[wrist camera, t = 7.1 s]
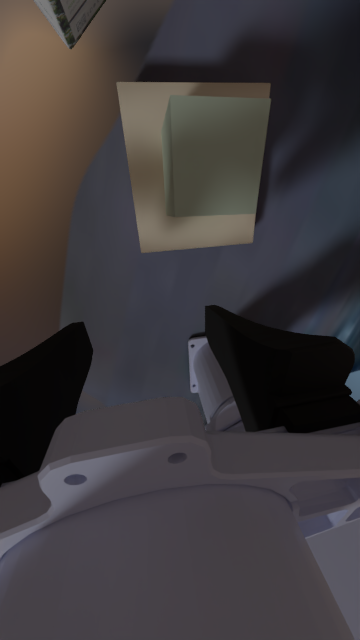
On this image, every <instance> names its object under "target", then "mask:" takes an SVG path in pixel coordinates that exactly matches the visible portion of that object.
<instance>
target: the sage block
mask: <svg viewBox="0 0 360 640" xmlns="http://www.w3.org/2000/svg"><path fill="white" fill-rule="evenodd" d="M270 104H271V99H266V98H239V97H212V96H184V95H170V98H169V102H168V106H167V110H166V114H165V118H164V122H163V126H162V130H161V138H162V155H163V172H164V189H165V207H166V215H168V216H172V217H190V216H214V215H238V214H256V208H257V200H258V193H259V185H260V178H261V170H262V163H263V156H264V148H265V141H266V133H267V126H268V119H269V111H270Z"/></svg>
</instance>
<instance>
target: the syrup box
mask: <svg viewBox="0 0 360 640" xmlns="http://www.w3.org/2000/svg"><path fill="white" fill-rule="evenodd" d="M105 1H106V0H34V2H35V3H36V5H37V6H38V7H39V9H40V10H41V11H42V13H43V14H44V15H45V17H46V18H47V20H48V21H49V22H50V24H51V25H52V26H53V28H54V29H55V31H56V32H57V34H58V35H59V36H60V37H61V39H62V40H63V42H64V43H65V44H66V45H67V47H68V48H69V49H72V48H73V47H74V45H75V44H76V43H77V41H78V40H79V39H80V37H81V36H82V34H83V33H84V31H85V30H86V28H87V27H88V25H89V24H90V23H91V21H92V20H93V18H94V17H95V15H96V14H97V13H98V11H99V10H100V8H101V7H102V5H103V4H104V3H105Z"/></svg>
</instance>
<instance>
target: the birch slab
mask: <svg viewBox="0 0 360 640" xmlns="http://www.w3.org/2000/svg"><path fill="white" fill-rule="evenodd" d="M270 86H271V83H194V82H117V90H118V96H119V103H120V110H121V117H122V124H123V130H124V137H125V144H126V151H127V158H128V165H129V171H130V178H131V185H132V192H133V199H134V205H135V212H136V219H137V226H138V233H139V239H140V246H141V253H147V252H158V251H169V250H180V249H190V248H201V247H212V246H223V245H234V244H245V243H253V234H254V225H255V216H256V214H238V215H214V216H190V217H172V216H168V215H166V207H165V189H164V172H163V155H162V138H161V130H162V126H163V122H164V118H165V114H166V110H167V106H168V102H169V98H170V95H184V96H212V97H239V98H266V99H269V95H270Z"/></svg>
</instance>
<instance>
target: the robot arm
mask: <svg viewBox="0 0 360 640" xmlns="http://www.w3.org/2000/svg"><path fill="white" fill-rule="evenodd" d="M205 335H206V336H202V337H195V338H190V339H189V340H188V350H189V370H190V389H191V392H192V393H196V392H198V393H199V396H200V400H201V403H202V406H203V410H204V413H205V416H206V419H207V423H208V424H207V425H206V426H205V427H206V430H205V427H204V423H203V420H202V416H201V413H200V411H199V409H198V407H197V404H196V403H193V402H191V401H189V400H187V399H185V398H183V397H162V398H156V399H151V400H145V401H139V402H133V403H128V404H122V405H116V406H111V407H105V408H99V409H93V410H88V411H84V412H81V413H78V414H76V409H77V404H78V401H79V398H80V395H81V392H82V389H83V386H84V383H85V380H86V378H87V375H88V372H89V369H90V365H91V361H92V355H93V348H92V345H91V342H90V339H89V336H88V334H87V331H86V328H85V325H84V322H77V323H71V324H69V325H68V326H66V327H65V328H63V329H61V330H60V331H59V332H57V333H56V334H54V335H53V336H51V337H50V338H48V339H47V340H45V341H44V342H42V343H41V344H39V345H38V346H36V347H34V348H33V349H31V350H30V351H28V352H26V353H25V354H23V355H21V356H20V357H17V358H16V359H14V360H12V361H10V362H8V363H6V364H4V365H2V366H0V640H360V400H358V401H357V402H356V401H355V400H354V399H353V398H351V397H350V396H349V395H351V393H352V391H351V390H350V389H349V388H348V387H347V386H346V385H345V382H346V380H347V378H348V376H349V374H350V372H351V370H352V368H353V365H354V361H355V354H354V352H353V350H352V349H351V348H350V347H349V346H347V345H346V344H345V343H343V342H342V341H340V340H339V339H337V338H336V337H331V336H319V335H308V334H301V333H294V332H289V331H284V330H279V329H275V328H271V327H267V326H264V325H261V324H258V323H255V322H252V321H250V320H247V319H245V318H242V317H240V316H238V315H236V314H234V313H232V312H229V311H227V310H225V309H223V308H221V307H219V306H217V305H210V306H205ZM192 344H194V345H193V346H191V345H192ZM194 384H195V385H194ZM75 414H76V415H75Z"/></svg>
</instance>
